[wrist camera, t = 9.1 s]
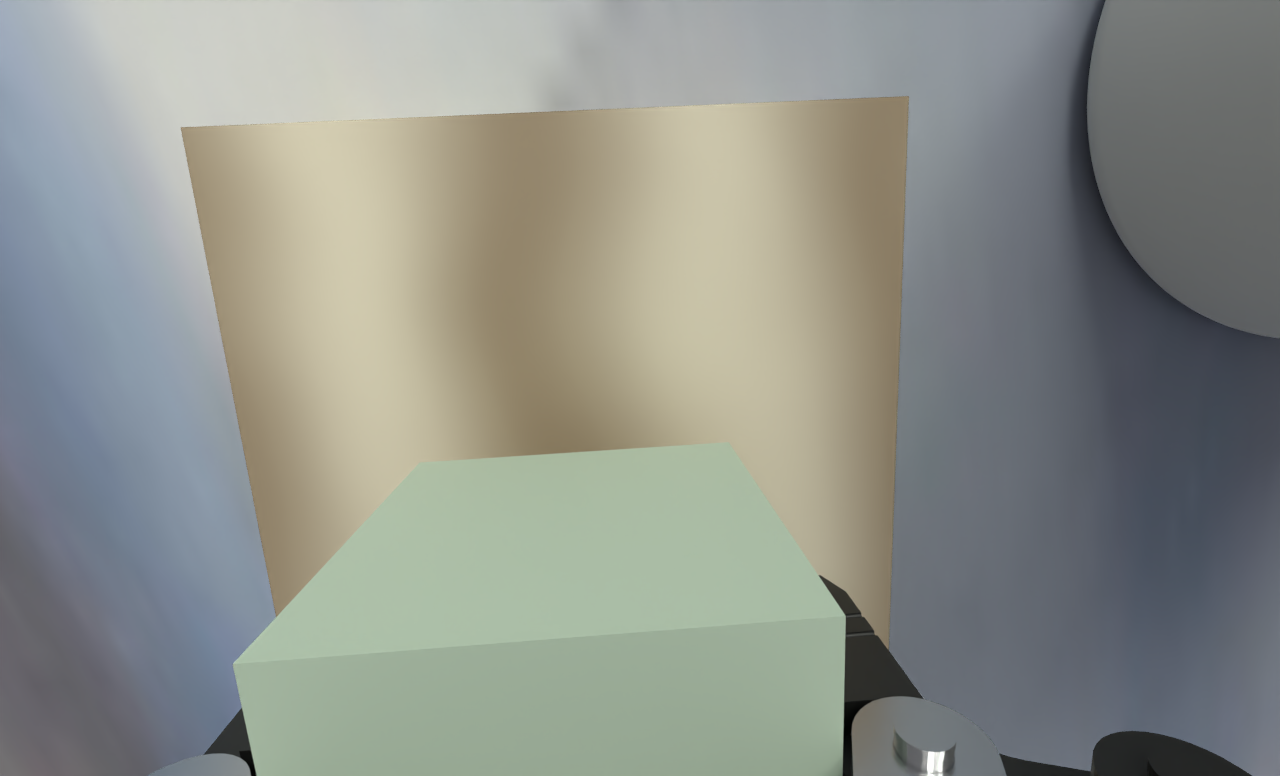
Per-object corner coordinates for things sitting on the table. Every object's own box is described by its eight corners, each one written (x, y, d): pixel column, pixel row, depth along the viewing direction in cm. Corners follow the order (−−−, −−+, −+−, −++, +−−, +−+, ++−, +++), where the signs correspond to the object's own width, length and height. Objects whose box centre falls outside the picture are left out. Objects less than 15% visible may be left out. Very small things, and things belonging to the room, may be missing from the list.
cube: (728, 441, 10) (845, 616, 5) (734, 707, 11) (836, 1062, 6) (420, 462, 10) (231, 665, 5) (455, 731, 11) (330, 1118, 6)
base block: (826, 141, 14) (908, 96, 10) (819, 730, 18) (880, 865, 14) (302, 165, 14) (181, 127, 10) (397, 767, 17) (335, 918, 13)
